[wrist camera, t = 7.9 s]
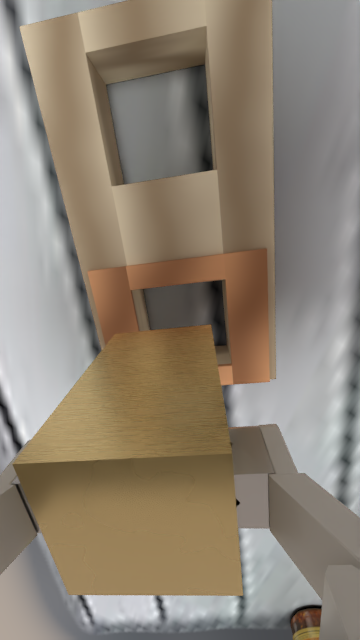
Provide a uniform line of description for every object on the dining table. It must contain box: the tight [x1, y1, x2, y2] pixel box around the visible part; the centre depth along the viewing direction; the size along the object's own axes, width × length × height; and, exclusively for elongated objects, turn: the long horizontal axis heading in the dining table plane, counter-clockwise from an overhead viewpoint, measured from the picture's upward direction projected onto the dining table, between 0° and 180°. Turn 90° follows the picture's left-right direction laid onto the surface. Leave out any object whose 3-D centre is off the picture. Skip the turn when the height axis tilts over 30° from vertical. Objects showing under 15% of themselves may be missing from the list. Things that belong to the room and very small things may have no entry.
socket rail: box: [20, 0, 276, 385], centre depth 17 cm, size 12×21×3 cm, turn 7°
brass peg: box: [12, 324, 243, 596], centre depth 9 cm, size 4×4×7 cm
